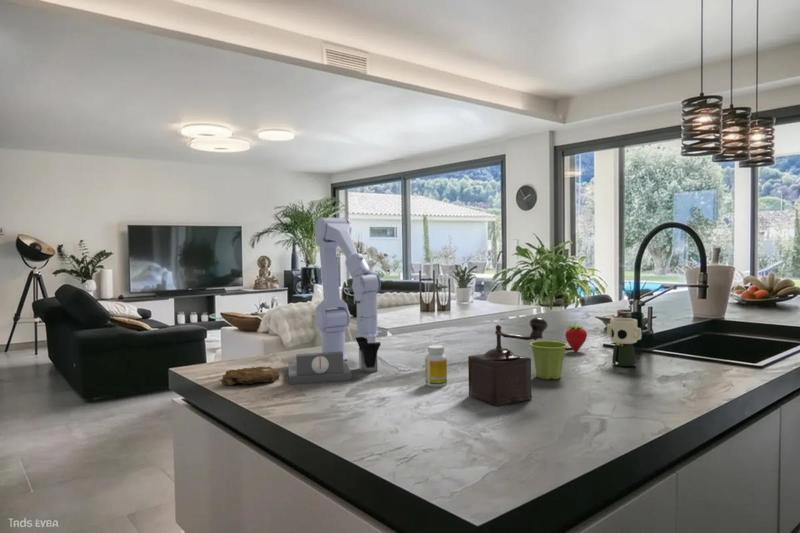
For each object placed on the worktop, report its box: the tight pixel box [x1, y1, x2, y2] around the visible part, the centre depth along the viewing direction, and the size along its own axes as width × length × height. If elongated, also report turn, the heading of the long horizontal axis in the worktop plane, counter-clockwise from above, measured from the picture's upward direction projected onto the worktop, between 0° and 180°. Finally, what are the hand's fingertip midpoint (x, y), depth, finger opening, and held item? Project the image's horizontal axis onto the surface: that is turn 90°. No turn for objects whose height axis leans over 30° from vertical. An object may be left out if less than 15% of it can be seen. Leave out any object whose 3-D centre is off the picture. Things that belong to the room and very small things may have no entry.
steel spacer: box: [358, 347, 378, 373], centre depth 154 cm, size 4×4×6 cm
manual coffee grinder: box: [467, 317, 548, 407], centre depth 124 cm, size 16×11×18 cm
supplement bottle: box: [424, 344, 448, 388], centre depth 136 cm, size 5×5×10 cm
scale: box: [288, 351, 352, 385], centre depth 150 cm, size 18×16×7 cm
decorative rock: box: [220, 366, 280, 386], centre depth 143 cm, size 11×4×15 cm
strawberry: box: [564, 323, 588, 352], centre depth 174 cm, size 6×8×10 cm
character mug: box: [606, 317, 642, 367], centre depth 153 cm, size 11×7×13 cm, turn 31°
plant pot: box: [529, 340, 568, 380], centre depth 141 cm, size 9×9×9 cm
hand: (368, 364), depth 154 cm, fingers open, 7 cm apart
